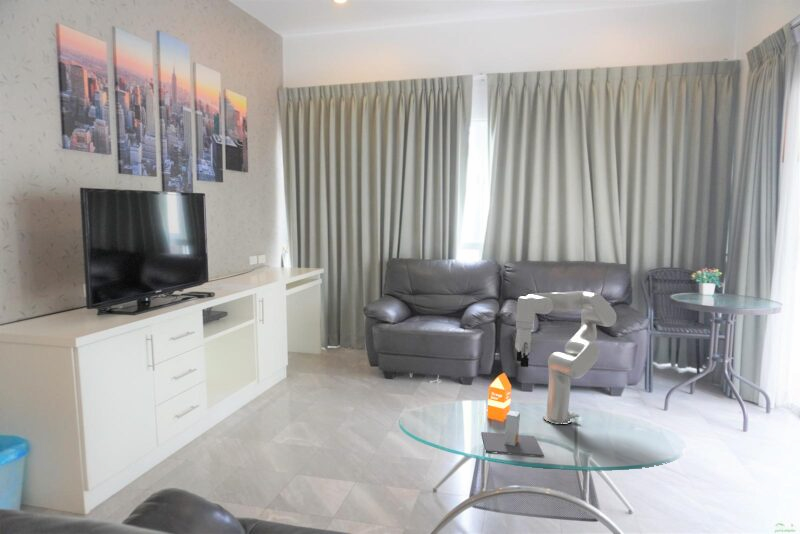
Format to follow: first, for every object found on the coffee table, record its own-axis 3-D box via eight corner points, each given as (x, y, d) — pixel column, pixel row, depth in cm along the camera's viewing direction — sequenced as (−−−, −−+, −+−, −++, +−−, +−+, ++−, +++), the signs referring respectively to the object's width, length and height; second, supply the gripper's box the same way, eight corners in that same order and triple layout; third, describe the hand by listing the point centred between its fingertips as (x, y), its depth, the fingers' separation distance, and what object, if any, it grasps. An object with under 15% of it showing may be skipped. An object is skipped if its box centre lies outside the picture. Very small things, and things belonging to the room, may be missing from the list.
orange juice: (509, 416, 234) (512, 374, 232) (502, 421, 226) (505, 378, 225) (493, 412, 238) (496, 370, 236) (486, 417, 230) (489, 374, 229)
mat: (534, 437, 209) (534, 436, 209) (543, 456, 191) (544, 454, 191) (481, 433, 210) (481, 431, 210) (485, 452, 193) (486, 450, 192)
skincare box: (514, 446, 198) (516, 416, 197) (503, 443, 199) (506, 414, 199) (518, 441, 203) (520, 412, 202) (508, 438, 205) (510, 410, 204)
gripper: (512, 321, 226) (510, 358, 227) (519, 328, 209) (516, 368, 210) (529, 322, 226) (526, 359, 227) (537, 329, 209) (534, 369, 210)
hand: (522, 363), depth 219 cm, fingers open, 9 cm apart
